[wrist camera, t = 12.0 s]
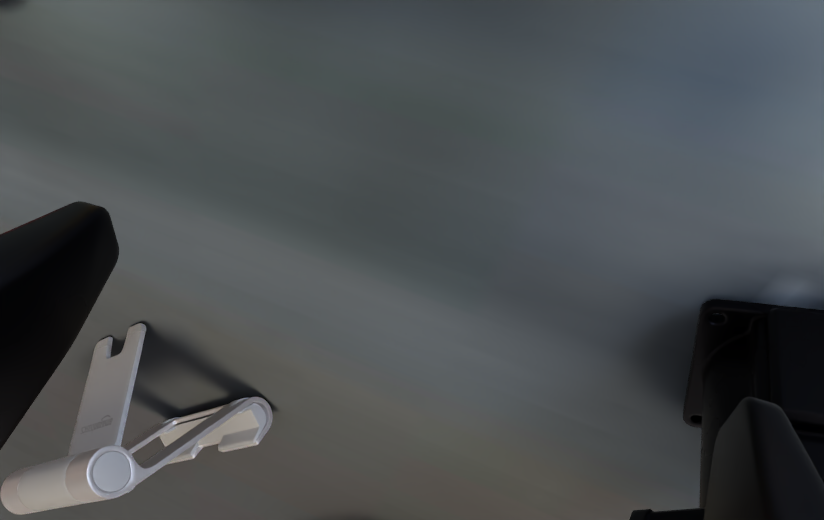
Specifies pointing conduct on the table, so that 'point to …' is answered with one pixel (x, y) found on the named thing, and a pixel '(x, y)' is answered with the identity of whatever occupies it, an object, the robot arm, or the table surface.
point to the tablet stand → (103, 430)
